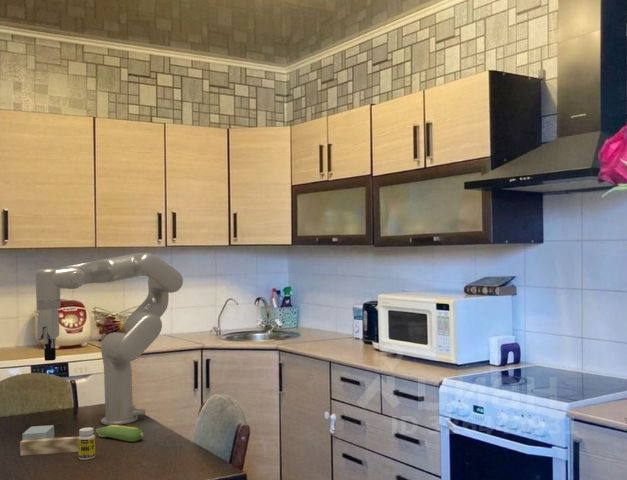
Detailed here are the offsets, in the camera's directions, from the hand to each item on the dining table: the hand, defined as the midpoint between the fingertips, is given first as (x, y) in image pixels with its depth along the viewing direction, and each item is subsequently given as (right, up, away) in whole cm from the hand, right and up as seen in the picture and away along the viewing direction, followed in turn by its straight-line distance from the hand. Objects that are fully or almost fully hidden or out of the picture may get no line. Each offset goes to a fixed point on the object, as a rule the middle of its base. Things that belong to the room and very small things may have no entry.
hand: (50, 360), depth 228 cm
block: (+2, -25, -15) cm, 30 cm away
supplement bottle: (+21, -24, -27) cm, 42 cm away
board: (+10, -25, -20) cm, 33 cm away
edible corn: (+25, -25, -7) cm, 36 cm away
